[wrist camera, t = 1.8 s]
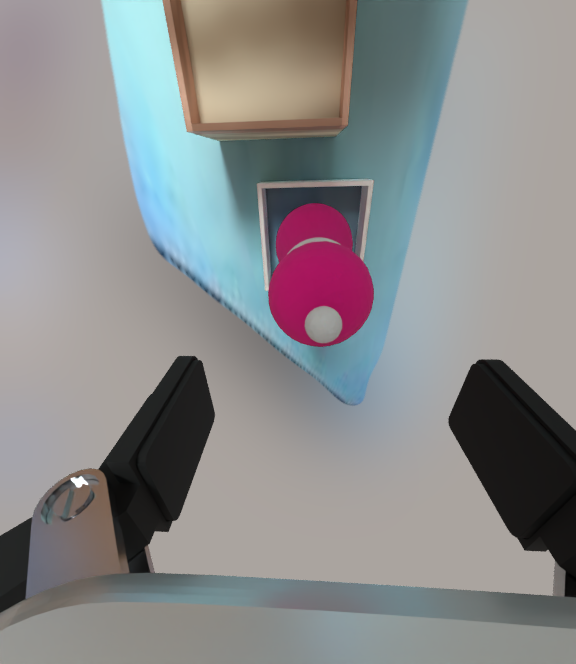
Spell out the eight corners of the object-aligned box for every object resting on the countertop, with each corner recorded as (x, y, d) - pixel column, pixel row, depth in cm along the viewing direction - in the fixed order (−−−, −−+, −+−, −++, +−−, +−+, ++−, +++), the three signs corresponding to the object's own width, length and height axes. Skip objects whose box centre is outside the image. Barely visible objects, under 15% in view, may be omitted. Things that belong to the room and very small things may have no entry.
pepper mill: (311, 181, 26) (327, 210, 9) (359, 232, 28) (442, 332, 11) (266, 237, 29) (213, 336, 12) (312, 279, 31) (322, 412, 14)
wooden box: (193, -46, 19) (131, -166, 12) (346, -58, 18) (371, -191, 11) (219, 141, 24) (187, 131, 18) (335, 136, 24) (347, 125, 17)
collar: (261, 181, 26) (256, 183, 24) (366, 178, 25) (373, 180, 23) (268, 280, 32) (265, 290, 29) (355, 280, 31) (359, 290, 29)
